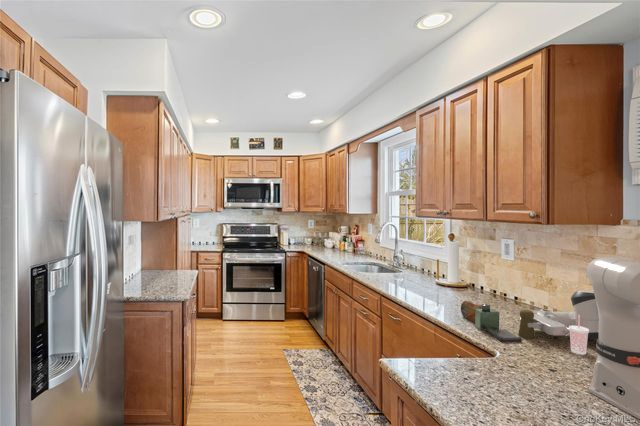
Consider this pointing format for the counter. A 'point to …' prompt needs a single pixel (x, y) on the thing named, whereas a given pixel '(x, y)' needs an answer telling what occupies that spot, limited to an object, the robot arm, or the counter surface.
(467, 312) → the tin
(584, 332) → the beverage cup
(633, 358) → the robot arm
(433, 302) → the counter surface
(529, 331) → the cork
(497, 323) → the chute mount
